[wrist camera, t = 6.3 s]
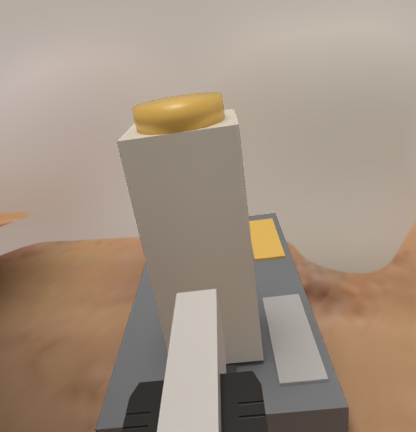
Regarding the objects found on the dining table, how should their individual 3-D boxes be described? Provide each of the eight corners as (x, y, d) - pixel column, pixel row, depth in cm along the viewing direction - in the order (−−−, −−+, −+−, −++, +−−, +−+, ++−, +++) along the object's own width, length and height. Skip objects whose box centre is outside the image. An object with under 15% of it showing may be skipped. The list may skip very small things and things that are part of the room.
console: (347, 436, 18) (348, 404, 17) (105, 456, 19) (94, 426, 18) (276, 231, 38) (275, 211, 37) (159, 244, 39) (155, 225, 38)
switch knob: (263, 360, 20) (236, 98, 15) (171, 369, 21) (110, 116, 15) (255, 312, 24) (231, 87, 18) (177, 320, 24) (130, 102, 19)
